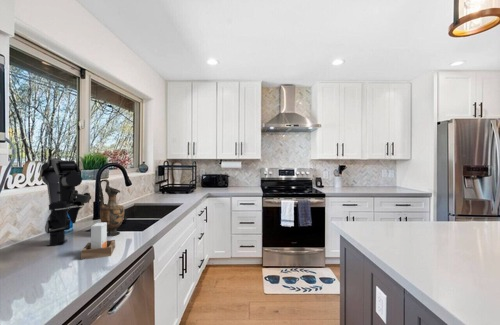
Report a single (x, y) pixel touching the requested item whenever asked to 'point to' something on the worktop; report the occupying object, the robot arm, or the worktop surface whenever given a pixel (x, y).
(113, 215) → the vase
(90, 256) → the walnut holder
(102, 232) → the skincare box
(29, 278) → the worktop surface
